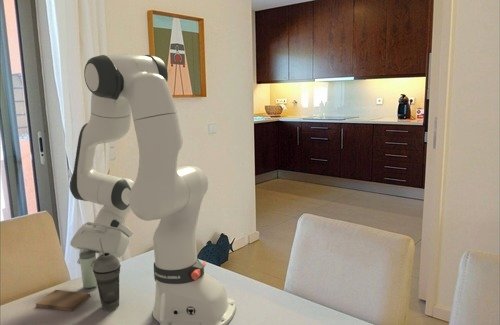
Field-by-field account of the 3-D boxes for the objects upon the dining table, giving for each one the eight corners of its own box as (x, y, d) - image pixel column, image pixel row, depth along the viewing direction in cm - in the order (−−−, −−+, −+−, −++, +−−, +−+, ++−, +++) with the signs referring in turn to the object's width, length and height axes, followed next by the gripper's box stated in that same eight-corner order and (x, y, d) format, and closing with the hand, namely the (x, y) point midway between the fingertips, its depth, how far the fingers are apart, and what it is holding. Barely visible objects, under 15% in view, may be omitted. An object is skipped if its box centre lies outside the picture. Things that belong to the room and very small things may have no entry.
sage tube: (101, 281, 126) (98, 251, 125) (92, 288, 122) (89, 257, 120) (89, 280, 128) (85, 250, 126) (79, 287, 123) (75, 256, 121)
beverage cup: (115, 314, 109) (108, 244, 105) (91, 312, 110) (84, 243, 107) (129, 300, 116) (122, 234, 112) (106, 298, 117) (99, 233, 114)
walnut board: (90, 296, 119) (90, 293, 119) (72, 311, 111) (72, 307, 111) (56, 292, 122) (55, 289, 122) (36, 306, 114) (35, 303, 114)
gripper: (78, 217, 132) (56, 256, 125) (126, 224, 123) (104, 267, 116) (91, 225, 137) (70, 264, 130) (137, 233, 128) (117, 274, 121)
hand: (87, 265), depth 123 cm, fingers closed on sage tube, 4 cm apart
